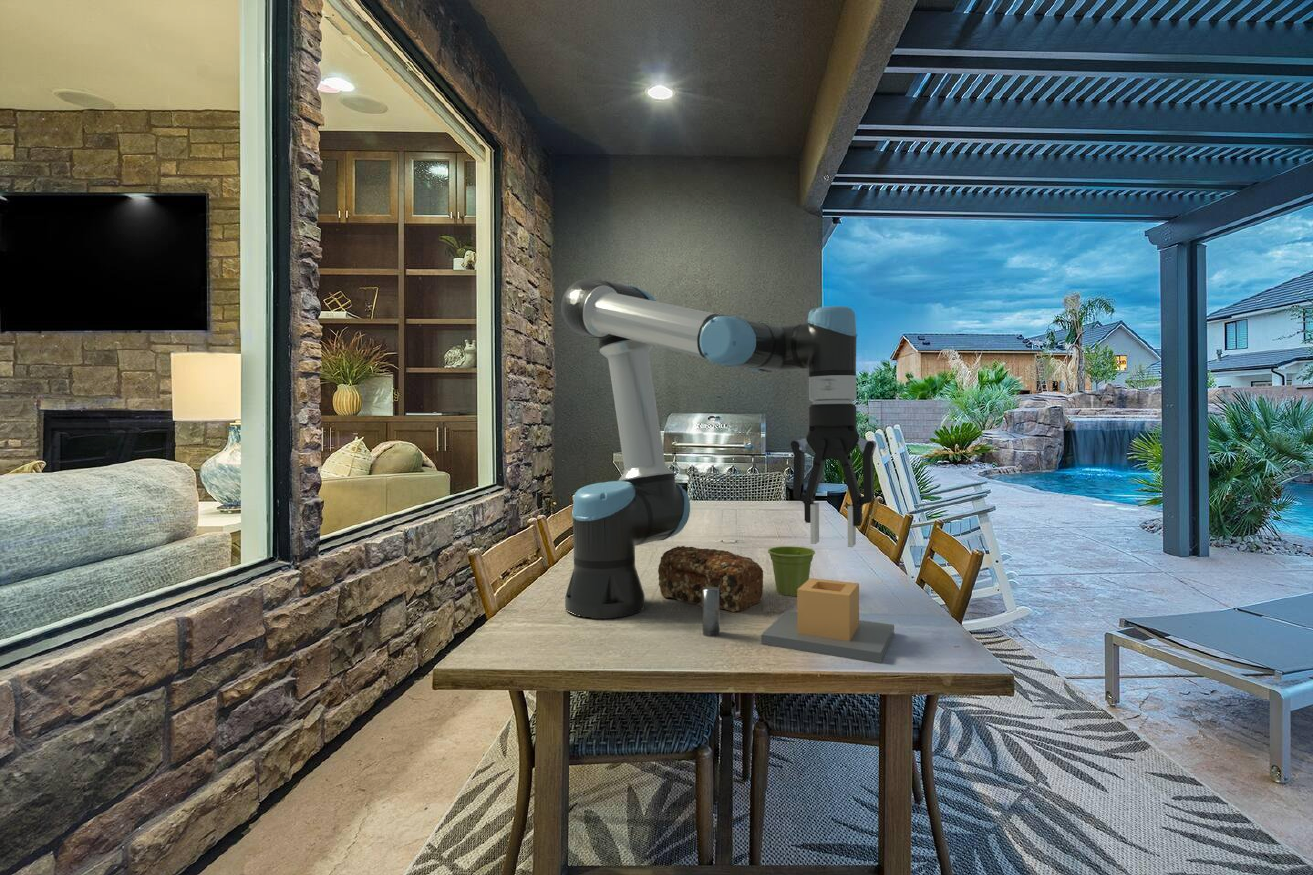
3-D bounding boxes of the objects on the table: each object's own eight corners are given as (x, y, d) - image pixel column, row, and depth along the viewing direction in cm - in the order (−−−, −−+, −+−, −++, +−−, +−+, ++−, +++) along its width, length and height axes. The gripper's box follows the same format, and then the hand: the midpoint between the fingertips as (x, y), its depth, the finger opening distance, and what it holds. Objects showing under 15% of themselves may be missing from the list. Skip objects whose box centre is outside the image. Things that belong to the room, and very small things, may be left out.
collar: (797, 633, 101) (797, 589, 101) (810, 618, 108) (810, 578, 108) (849, 641, 97) (849, 595, 97) (859, 625, 104) (859, 583, 104)
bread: (657, 598, 127) (656, 549, 127) (687, 587, 136) (687, 540, 135) (738, 615, 116) (737, 561, 115) (766, 601, 124) (765, 550, 124)
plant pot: (759, 590, 132) (758, 548, 132) (796, 584, 136) (795, 544, 136) (786, 601, 124) (786, 557, 123) (825, 595, 128) (824, 552, 127)
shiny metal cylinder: (700, 634, 105) (699, 589, 105) (706, 629, 108) (706, 585, 107) (715, 637, 104) (715, 591, 104) (722, 632, 106) (721, 587, 106)
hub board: (761, 643, 101) (761, 596, 100) (786, 618, 113) (786, 576, 113) (880, 663, 92) (880, 611, 92) (894, 633, 105) (894, 587, 104)
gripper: (771, 403, 105) (772, 543, 106) (888, 401, 97) (888, 553, 97) (784, 404, 112) (785, 536, 113) (894, 402, 103) (895, 544, 104)
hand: (833, 543), depth 105 cm, fingers open, 5 cm apart
